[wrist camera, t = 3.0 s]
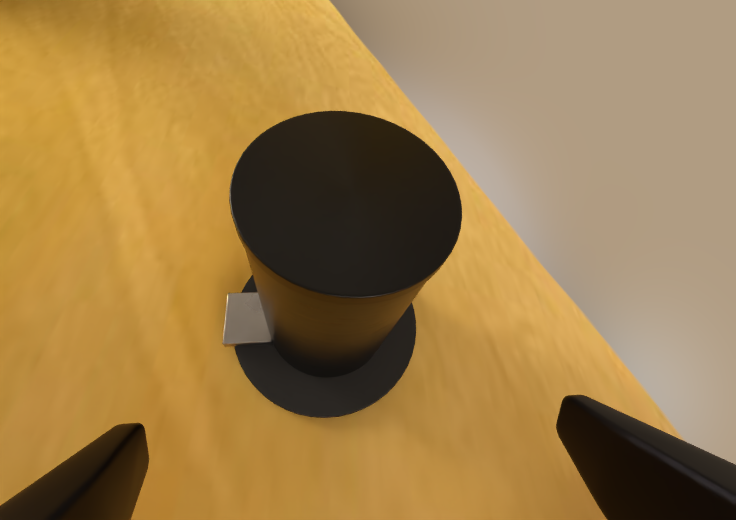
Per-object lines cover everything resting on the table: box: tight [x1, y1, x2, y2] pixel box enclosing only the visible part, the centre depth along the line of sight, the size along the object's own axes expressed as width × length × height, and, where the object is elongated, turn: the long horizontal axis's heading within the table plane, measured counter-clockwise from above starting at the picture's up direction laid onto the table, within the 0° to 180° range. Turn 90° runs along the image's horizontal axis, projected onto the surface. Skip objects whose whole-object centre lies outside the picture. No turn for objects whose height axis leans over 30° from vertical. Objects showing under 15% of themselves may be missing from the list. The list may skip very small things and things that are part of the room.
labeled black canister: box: [223, 111, 462, 377], centre depth 16 cm, size 7×9×12 cm
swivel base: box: [235, 275, 416, 418], centre depth 22 cm, size 11×11×1 cm
